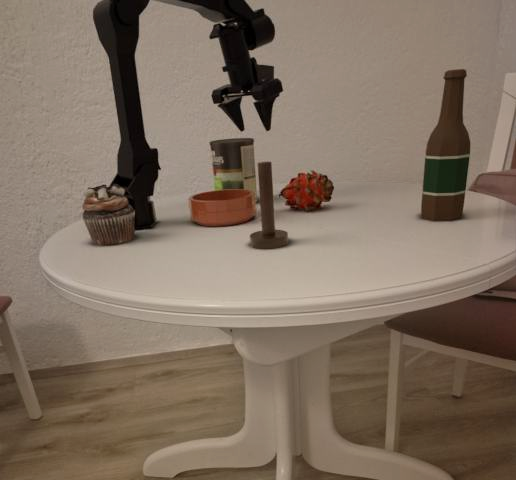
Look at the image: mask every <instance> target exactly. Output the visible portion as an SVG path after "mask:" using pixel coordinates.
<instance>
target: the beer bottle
mask: <svg viewBox="0 0 516 480" xmlns="http://www.w3.org/2000/svg"><path fill="white" fill-rule="evenodd" d="M467 76H468V74H467V70H466V69H465V68H459V69H448V70H446V71H445V72H444V75H443V79H444V84H443V90H442V92H443V93H442V99H441V105H440V110H439V111H440V112H439V117H438V122H437V124H436V126H435V127H434V128H433V130H432V132H431V133H430V135H429V137H428V140H427V142H426V148H425V154H424V166H423V167H424V168H423V179H422V191H421V192H422V193H421V203H420V204H421V205H420V207H421V208H420V214H421V215H420V216H421V218H422V219H423V220H427V221H433V222H440V221H444V222H445V221H448V222H449V221H450V222H451V221H454V220H458V219H462V216H463V212H464V206H465V198H466V190H467V182H468V174H469V166H470V157H471V139H470V135H469V131H468V129H467V127H466V125H465V124H464V96H465V79H466V78H467Z"/></svg>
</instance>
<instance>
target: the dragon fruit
mask: <svg viewBox="0 0 516 480" xmlns="http://www.w3.org/2000/svg"><path fill="white" fill-rule="evenodd" d="M310 172H311V173H310ZM310 172H307V173H304V172H298V173H297V176H296V177H292V178H291V179H290V181H289V183H288V184H286V185H285V186H284V187H283V188H282V189H280V190H281V191H280V192H279V193H278V198H281V197H282V198H283V199H284V200H285V201H284V205H285V206H287V207H289V209H290V210H297V211H301V210H304V209H305V212H309V211H310V210H312V209H314V210H319V209H321V207H322V204H323V203H330V202H331V200H332V198H333V197H332V195H333V192H334V190H335V186H334V183H333V182H334V181H332V180H331V179H330V178H328V175H326V174H323V173H317V172H316V171H314V170H313V169H312V170H310Z"/></svg>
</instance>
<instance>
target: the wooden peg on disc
mask: <svg viewBox="0 0 516 480" xmlns="http://www.w3.org/2000/svg"><path fill="white" fill-rule="evenodd" d="M272 165H273V164H272V161H259V162H257V174H258V175H257V176H258V192H259V204H260V205H259V207H260V221H261V230H257V231H254V232H252V233H250V234H249V242H250V246H251V247H252V248H255V249H259V250H260V249H262V250H269V249H270V250H271V249H279V248H282V247H284V246H286V245H288V244H289V232H288V231H286V230H283V229H276V221H275V203H274V184H273V182H274V181H273V166H272Z"/></svg>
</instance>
